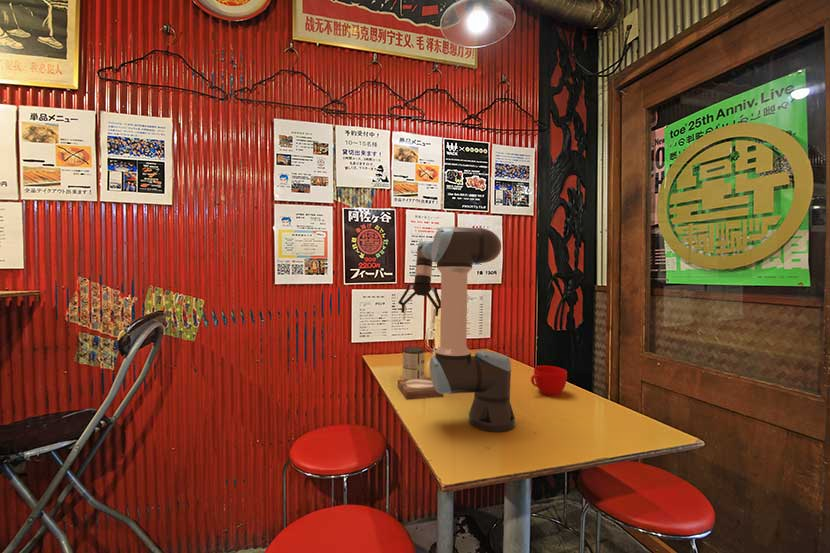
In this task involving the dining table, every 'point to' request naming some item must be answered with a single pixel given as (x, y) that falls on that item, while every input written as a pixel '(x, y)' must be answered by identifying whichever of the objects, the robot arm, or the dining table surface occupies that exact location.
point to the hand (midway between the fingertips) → (418, 321)
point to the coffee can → (413, 363)
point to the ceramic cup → (549, 379)
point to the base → (418, 388)
